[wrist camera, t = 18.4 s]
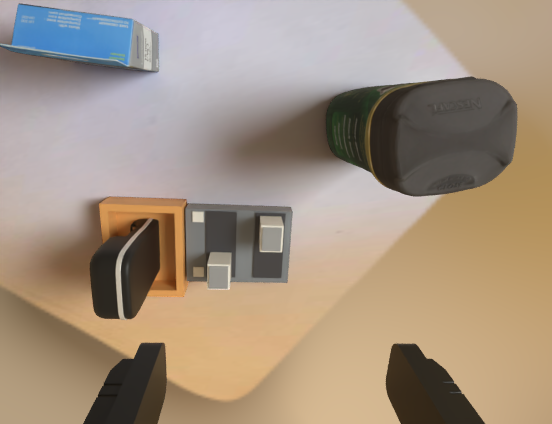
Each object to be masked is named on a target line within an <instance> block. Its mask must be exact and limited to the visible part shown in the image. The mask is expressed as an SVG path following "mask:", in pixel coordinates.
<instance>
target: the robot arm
mask: <svg viewBox="0 0 552 424" xmlns="http://www.w3.org/2000/svg"><path fill="white" fill-rule="evenodd" d="M166 383H167V377H166V353H165V344H164V343H141V344H140V346H139V348H138V351H137V353H136V355H135V357H134V359H122V360H121V361H120V362H119V363H118V364H117V365H116V366H115V367H114V368H113V369H112V370H111V371H110V372H109V374H108V376H107V378H106V380H105V382H104V386H102V388H101V390H100V392H99V394H98V398H96V400H95V402H94V404H93V406H92V407H91V410H90V412H89V413H88V415H87V417H86V419H85V421H84V423H83V424H157V423H158V420H159V416H160V413H161V409H162V405H163V402H164V398H165V393H166ZM386 390H387V394H388V397H389V399H390V402H391V404H392V406H393V408H394V410H395V412H396V414H397V416H398V419H399V421H400V423H401V424H485V423H484V422H483V420H482V419H481V417H480V416H479V415H478V413H477V412H476V411H475V409H474V408H473V407H472V405H471V404H470V402H469V401H468V400H467V398H466V397H465V396H464V394H462V393H461V390H460V389H459V388H458V386H457V385H456V384H454V381H453V379H452V378H451V377H450V375H449V374H448V373H447V371H446V370H445V369H444V368H443V367H442V366H440V365H439V364H438V363H437V362H435V361H434V360H433V359H426V357H425V356H424V354H423V353H422V351H421V350H420V349H419V347H418V346H417V345H416V344H393V346H392V349H391V353H390V359H389V364H388V370H387V376H386Z"/></svg>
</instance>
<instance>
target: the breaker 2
mask: <svg viewBox="0 0 552 424" xmlns="http://www.w3.org/2000/svg"><path fill="white" fill-rule="evenodd" d="M283 231H284V225H283V221H282V218H281V217H280V216H260V227H259V249H260V252H282V246H283Z"/></svg>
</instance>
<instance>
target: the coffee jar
mask: <svg viewBox="0 0 552 424" xmlns="http://www.w3.org/2000/svg"><path fill="white" fill-rule="evenodd" d="M326 131H327V138H328V143H329V146H330V149H331V150H332V152H333V153H334V154H335V155H336V156H337V157H339V158H340V159H342V160H344V161H346V162H348V163H351V164H353V165H356V166H358V167H361V168H363V169H365V170H367V171H369V172H371V173H372V174H373V176H374V177H375V178H376V179H377V180H378V182H380V183H381V184H382V185H383V186H385V187H387V188H389V189H392V190H395V191H398V192H400V193H403V194H405V195H409V196H429V195H440V194H448V193H453V192H458V191H463V190H467V189H473V188H476V187H479V186H482V185H484V184H486V183H488V182H490V181H492V180H493V179H494V178H496V177H497V176H498V175H499V174H500V173H501V172H502V171H503V170H504V169H505V168H506V167H507V166H508V165H509V164H510V163H511V161H512V159H513V153H514V148H515V141H516V131H517V104H516V103H515V101H514V100H513V98H512V96H511V95H510V94H509V92H508V91H507V90H506V89H505V88H504V87H502V86H501V85H499V84H497V83H496V82H493V81H490V80H486V79H476V78H474V77H464V78H458V79H446V80H437V81H429V82H419V83H407V84H397V85H385V86H375V87H367V88H361V89H356V90H352V91H348V92H345V93H342V94H340V95H338V96H337V97H336V98H335V99H334V100H333V101H332V102H331V103H330V105H329V107H328V110H327V115H326Z"/></svg>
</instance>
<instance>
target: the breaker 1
mask: <svg viewBox="0 0 552 424" xmlns="http://www.w3.org/2000/svg"><path fill="white" fill-rule="evenodd" d="M230 281H231V253H230V252H210V256H209V260H208V264H207V289H223V290H230Z"/></svg>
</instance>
